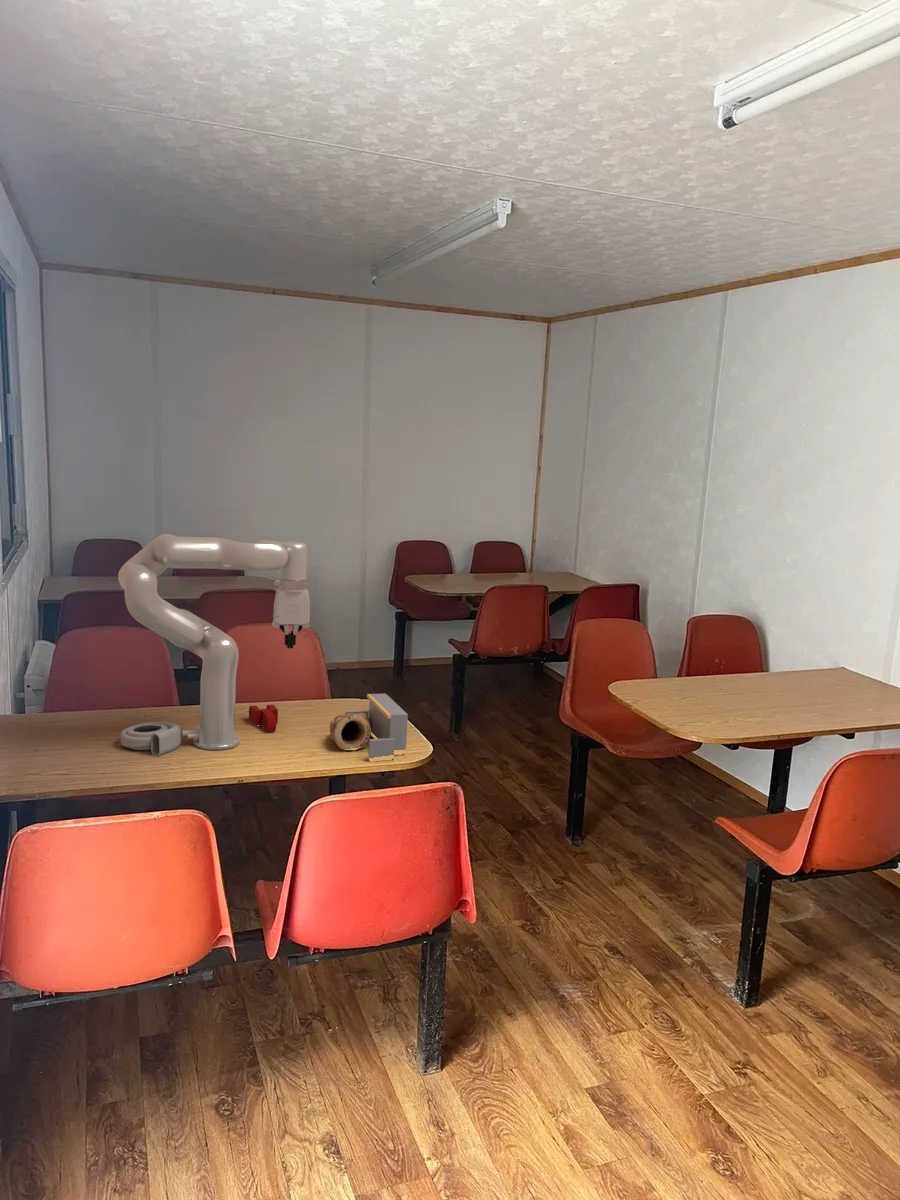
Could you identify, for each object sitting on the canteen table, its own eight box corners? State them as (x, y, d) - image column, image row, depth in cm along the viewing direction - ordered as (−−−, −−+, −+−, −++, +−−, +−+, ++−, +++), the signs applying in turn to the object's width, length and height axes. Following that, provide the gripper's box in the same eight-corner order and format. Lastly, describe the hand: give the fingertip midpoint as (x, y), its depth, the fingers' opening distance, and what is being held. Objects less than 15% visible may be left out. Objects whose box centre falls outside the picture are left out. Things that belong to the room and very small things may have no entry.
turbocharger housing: (149, 737, 251) (109, 751, 238) (148, 715, 251) (108, 727, 237) (195, 744, 244) (156, 759, 231) (194, 721, 243) (155, 735, 230)
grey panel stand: (369, 761, 239) (371, 719, 237) (344, 729, 266) (345, 691, 264) (409, 759, 243) (411, 718, 241) (380, 727, 270) (382, 690, 268)
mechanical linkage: (248, 719, 270) (249, 703, 270) (271, 718, 273) (271, 702, 273) (259, 735, 256) (260, 718, 255) (283, 733, 259) (284, 717, 258)
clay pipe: (314, 757, 251) (349, 754, 241) (307, 721, 251) (342, 717, 241) (361, 742, 265) (396, 739, 255) (355, 708, 265) (389, 703, 255)
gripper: (267, 586, 243) (264, 650, 246) (320, 587, 248) (317, 650, 251) (264, 582, 250) (262, 644, 253) (316, 583, 255) (313, 644, 258)
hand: (289, 647), depth 252 cm, fingers closed
